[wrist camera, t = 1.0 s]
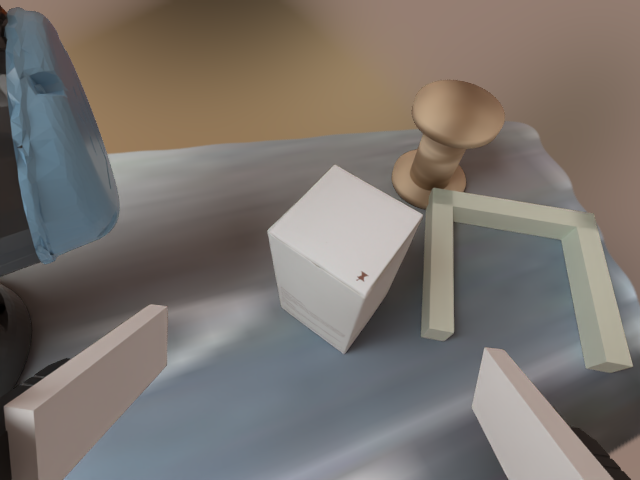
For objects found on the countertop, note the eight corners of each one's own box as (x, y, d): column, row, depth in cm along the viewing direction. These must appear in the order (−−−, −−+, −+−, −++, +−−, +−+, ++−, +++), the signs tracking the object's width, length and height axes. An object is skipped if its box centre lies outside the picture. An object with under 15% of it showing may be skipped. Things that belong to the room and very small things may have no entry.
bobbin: (388, 203, 39) (412, 131, 30) (394, 150, 43) (416, 74, 35) (463, 215, 38) (508, 146, 30) (461, 161, 43) (501, 86, 34)
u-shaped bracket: (420, 336, 32) (429, 328, 29) (426, 202, 39) (433, 187, 37) (610, 373, 31) (633, 366, 28) (577, 227, 38) (593, 213, 36)
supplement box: (389, 292, 34) (429, 215, 23) (343, 357, 31) (364, 302, 20) (326, 249, 36) (335, 160, 25) (277, 305, 33) (263, 230, 22)
